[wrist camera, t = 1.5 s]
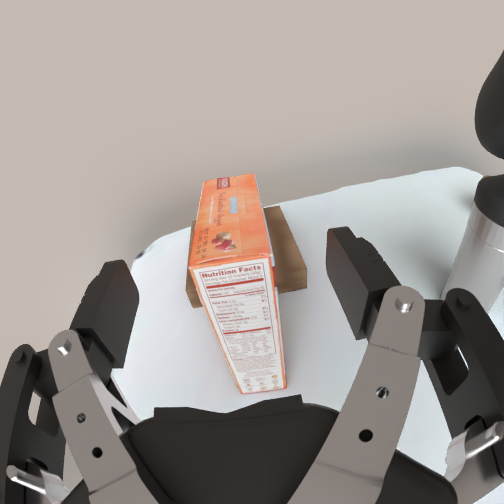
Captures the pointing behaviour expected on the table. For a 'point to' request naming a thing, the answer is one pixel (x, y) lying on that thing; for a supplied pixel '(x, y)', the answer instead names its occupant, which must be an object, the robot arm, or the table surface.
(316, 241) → the table surface
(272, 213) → the walnut base
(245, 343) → the cracker box
